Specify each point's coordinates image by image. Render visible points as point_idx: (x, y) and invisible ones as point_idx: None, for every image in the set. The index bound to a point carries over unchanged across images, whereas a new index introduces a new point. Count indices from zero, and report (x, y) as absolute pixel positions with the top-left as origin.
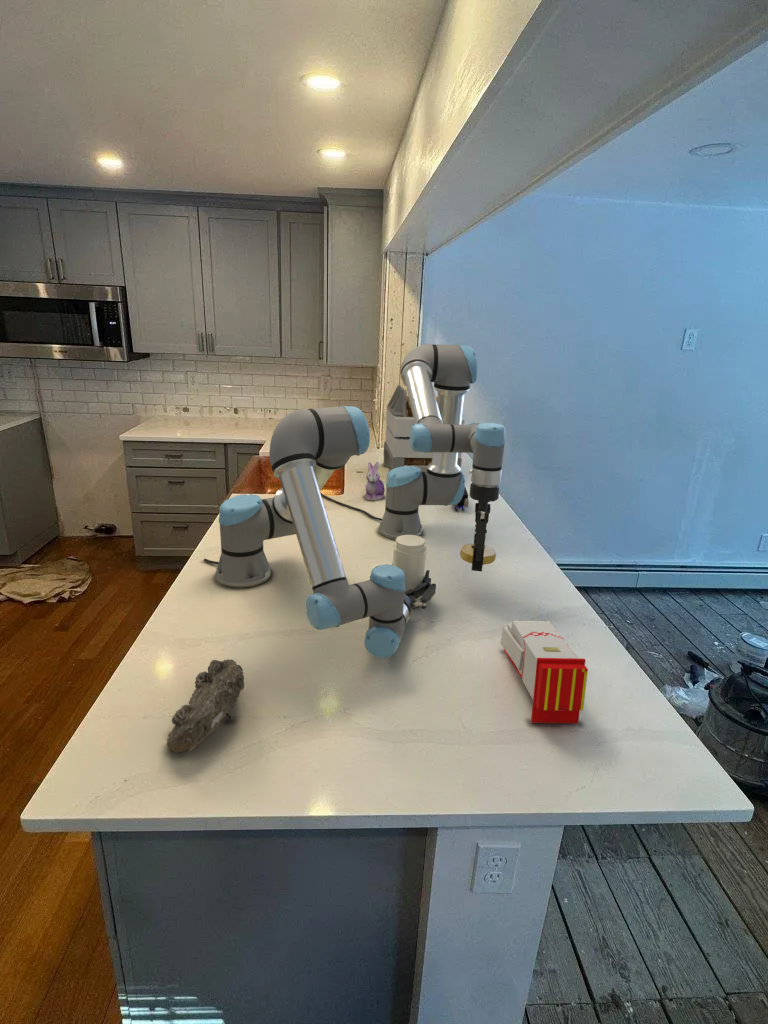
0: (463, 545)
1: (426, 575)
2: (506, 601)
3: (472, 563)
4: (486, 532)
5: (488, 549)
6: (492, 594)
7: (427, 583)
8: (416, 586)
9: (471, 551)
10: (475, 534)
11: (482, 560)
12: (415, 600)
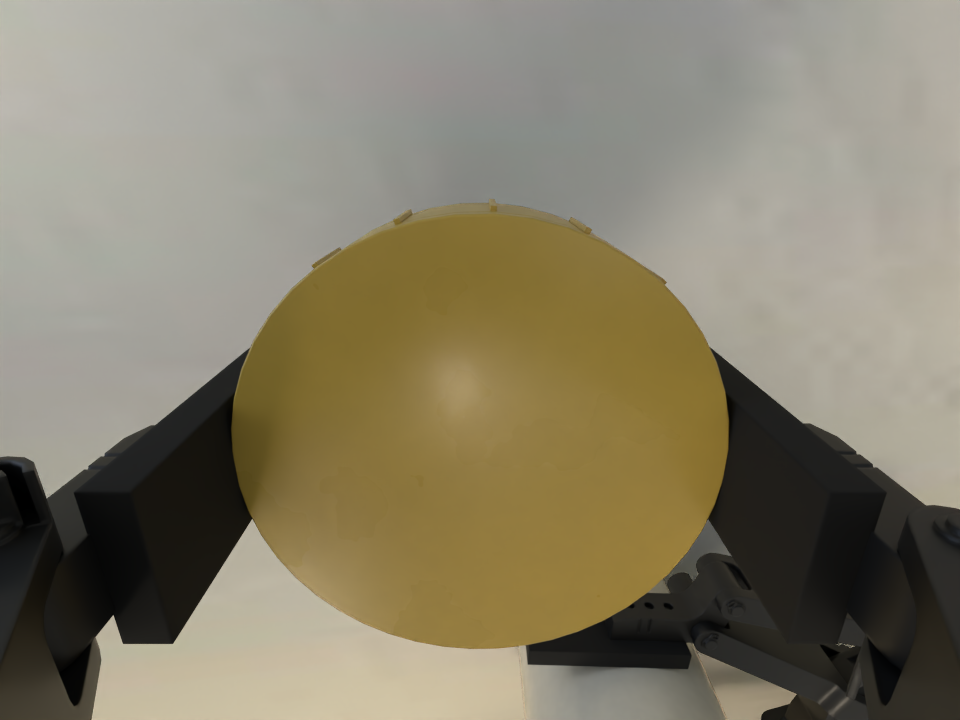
0: (382, 630)
1: (613, 658)
2: (478, 58)
3: None
4: (6, 477)
5: (419, 332)
6: (400, 163)
7: (723, 640)
8: (700, 664)
9: (559, 545)
10: (169, 626)
11: (756, 395)
12: None
